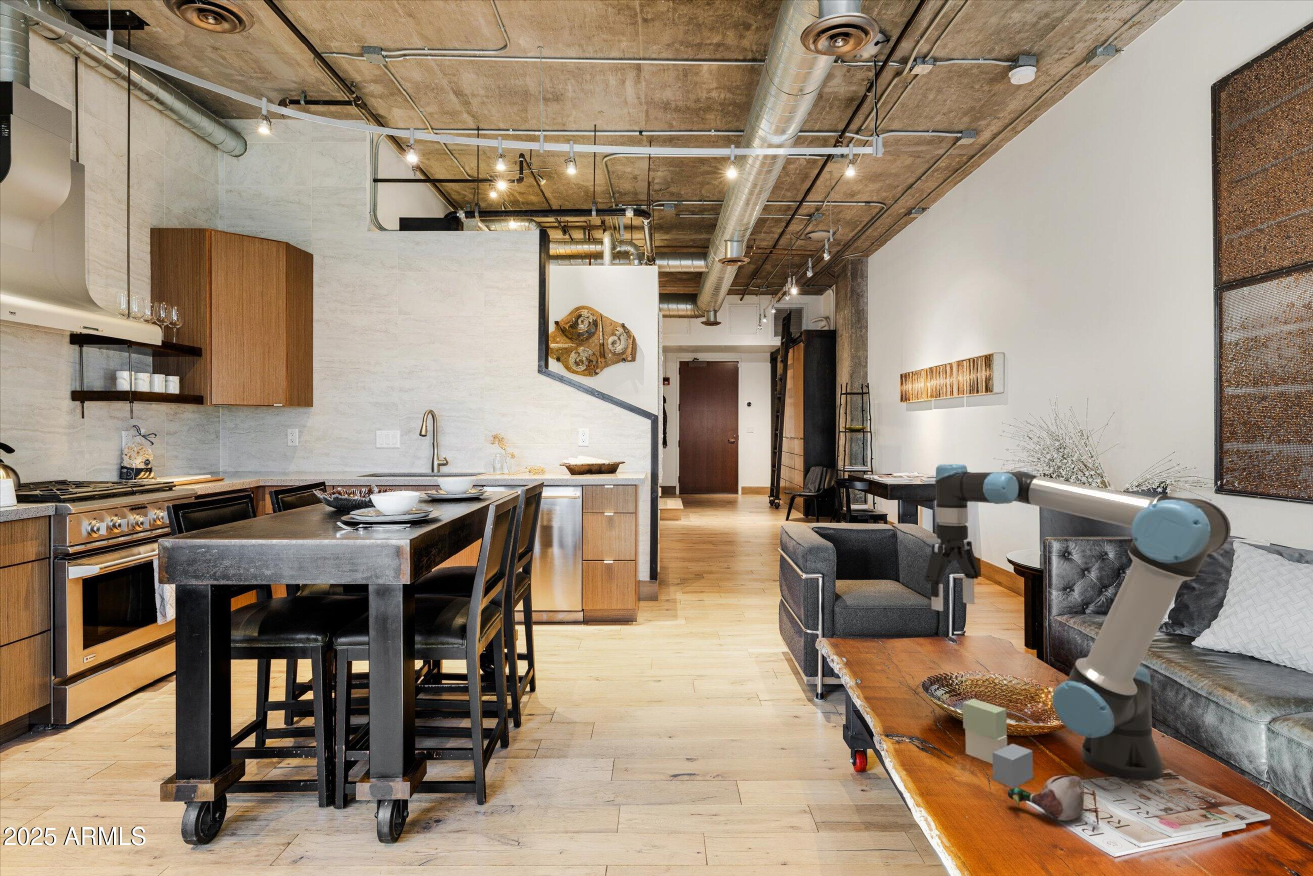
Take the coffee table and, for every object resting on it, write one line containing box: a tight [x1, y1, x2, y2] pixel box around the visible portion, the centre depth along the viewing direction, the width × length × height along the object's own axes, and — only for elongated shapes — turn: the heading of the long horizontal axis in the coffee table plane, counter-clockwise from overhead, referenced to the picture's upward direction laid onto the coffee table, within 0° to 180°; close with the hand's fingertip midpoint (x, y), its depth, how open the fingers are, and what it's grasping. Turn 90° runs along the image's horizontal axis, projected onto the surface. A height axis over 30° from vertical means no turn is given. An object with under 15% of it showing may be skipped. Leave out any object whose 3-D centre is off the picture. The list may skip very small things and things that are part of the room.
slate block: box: [992, 743, 1034, 789], centre depth 146 cm, size 8×4×6 cm, turn 123°
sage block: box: [962, 698, 1008, 740], centre depth 157 cm, size 8×4×6 cm, turn 33°
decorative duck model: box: [1007, 774, 1100, 826], centre depth 133 cm, size 15×8×15 cm
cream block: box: [964, 728, 1008, 765], centre depth 156 cm, size 8×4×6 cm, turn 34°
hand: (953, 606), depth 172 cm, fingers open, 13 cm apart
